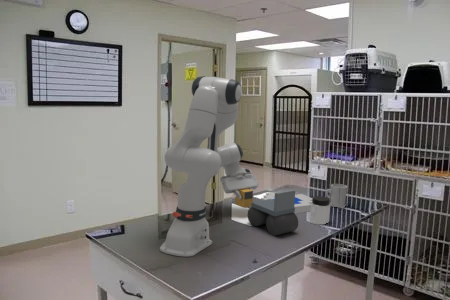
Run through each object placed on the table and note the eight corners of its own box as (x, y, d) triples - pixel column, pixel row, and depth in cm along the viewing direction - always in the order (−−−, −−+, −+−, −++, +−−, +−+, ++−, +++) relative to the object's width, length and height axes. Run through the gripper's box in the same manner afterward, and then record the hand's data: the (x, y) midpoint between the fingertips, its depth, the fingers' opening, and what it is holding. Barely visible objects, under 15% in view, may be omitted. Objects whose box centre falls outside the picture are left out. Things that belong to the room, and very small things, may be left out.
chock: (235, 204, 180) (235, 188, 179) (243, 202, 183) (244, 187, 182) (243, 207, 174) (244, 192, 173) (252, 206, 178) (253, 190, 176)
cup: (334, 209, 195) (336, 188, 193) (323, 204, 203) (325, 184, 202) (349, 207, 199) (351, 186, 198) (338, 203, 208) (339, 183, 206)
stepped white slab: (324, 203, 193) (281, 208, 181) (323, 210, 194) (280, 216, 182) (293, 190, 218) (254, 194, 206) (293, 196, 219) (253, 200, 207)
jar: (307, 219, 177) (308, 196, 175) (321, 218, 179) (323, 195, 177) (316, 225, 168) (318, 201, 166) (331, 224, 171) (333, 200, 169)
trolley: (298, 233, 158) (301, 191, 155) (279, 238, 151) (281, 195, 148) (265, 218, 175) (267, 181, 173) (246, 223, 168) (248, 184, 166)
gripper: (221, 173, 175) (233, 197, 168) (253, 169, 187) (265, 191, 180) (216, 180, 179) (227, 204, 173) (247, 176, 191) (258, 198, 185)
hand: (246, 197), depth 177 cm, fingers closed on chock, 5 cm apart
